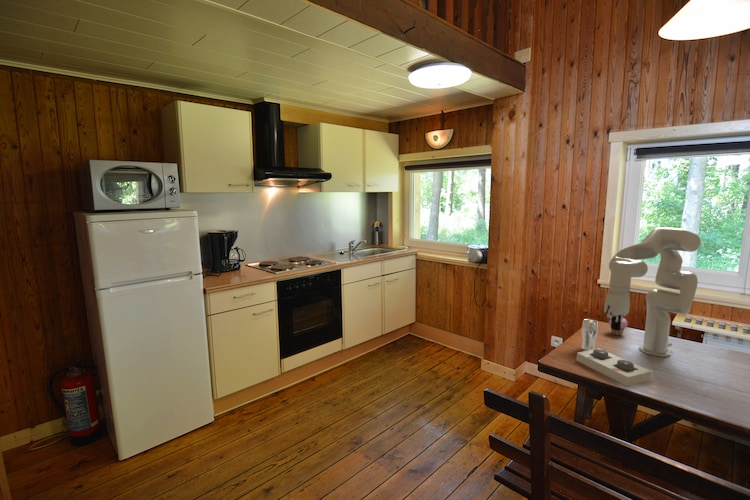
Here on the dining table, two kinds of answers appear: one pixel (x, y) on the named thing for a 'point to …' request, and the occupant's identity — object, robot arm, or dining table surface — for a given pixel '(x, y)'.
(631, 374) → the button board
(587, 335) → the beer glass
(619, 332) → the cupcake
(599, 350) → the button plain
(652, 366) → the dining table surface
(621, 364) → the button marked
